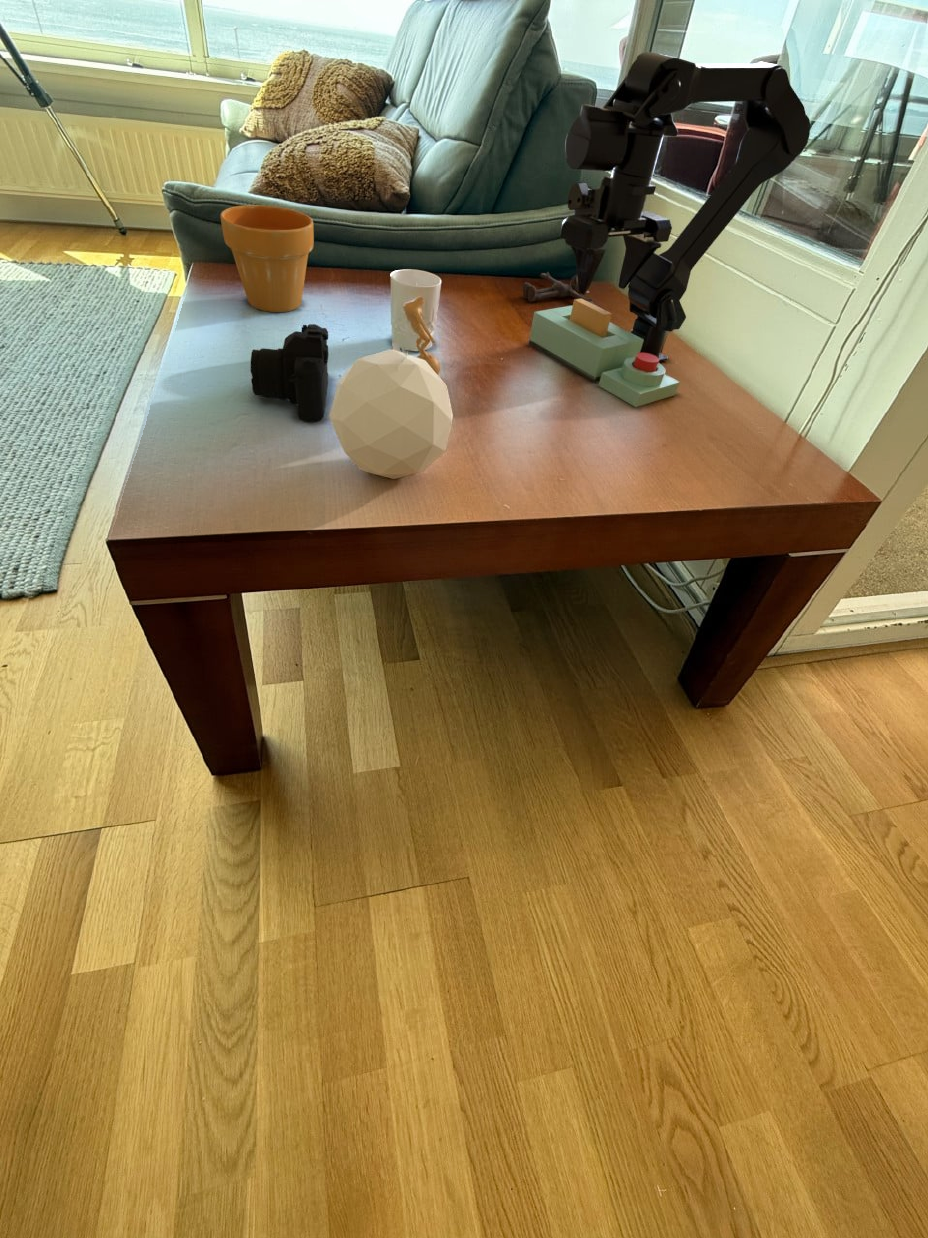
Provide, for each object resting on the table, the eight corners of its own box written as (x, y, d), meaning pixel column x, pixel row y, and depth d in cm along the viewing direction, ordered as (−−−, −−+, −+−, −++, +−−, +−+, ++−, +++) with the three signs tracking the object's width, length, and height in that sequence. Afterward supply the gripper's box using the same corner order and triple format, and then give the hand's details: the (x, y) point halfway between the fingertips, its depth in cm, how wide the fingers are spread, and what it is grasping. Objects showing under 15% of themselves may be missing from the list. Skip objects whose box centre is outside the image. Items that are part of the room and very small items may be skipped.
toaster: (568, 336, 115) (575, 304, 111) (633, 372, 107) (644, 339, 103) (528, 344, 110) (534, 311, 106) (593, 382, 102) (603, 348, 98)
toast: (570, 343, 110) (581, 297, 104) (599, 359, 106) (612, 313, 101) (563, 345, 109) (573, 299, 103) (592, 361, 105) (604, 314, 100)
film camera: (264, 369, 91) (257, 304, 85) (332, 375, 93) (331, 311, 86) (249, 421, 81) (239, 351, 74) (326, 426, 82) (323, 357, 76)
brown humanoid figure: (503, 268, 129) (561, 258, 134) (501, 290, 132) (558, 279, 137) (554, 300, 118) (614, 288, 123) (551, 323, 122) (610, 310, 127)
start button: (642, 361, 101) (646, 350, 100) (660, 371, 99) (663, 360, 98) (628, 365, 99) (631, 354, 98) (645, 375, 97) (649, 363, 96)
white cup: (429, 356, 101) (435, 290, 94) (382, 347, 102) (384, 280, 95) (440, 339, 107) (446, 275, 100) (395, 330, 107) (398, 265, 100)
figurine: (449, 391, 93) (458, 306, 85) (412, 395, 91) (418, 308, 82) (425, 367, 98) (431, 284, 90) (389, 370, 96) (392, 286, 87)
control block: (638, 374, 106) (645, 350, 103) (675, 395, 102) (684, 370, 99) (598, 385, 101) (605, 360, 98) (635, 407, 97) (643, 382, 94)
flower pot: (308, 323, 105) (304, 235, 96) (221, 312, 104) (208, 222, 95) (323, 294, 115) (320, 212, 106) (243, 284, 114) (234, 200, 105)
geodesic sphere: (322, 378, 78) (324, 309, 64) (434, 380, 82) (459, 314, 68) (332, 495, 77) (336, 450, 63) (446, 492, 80) (474, 448, 66)
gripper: (633, 159, 98) (605, 269, 108) (546, 158, 88) (525, 278, 99) (690, 177, 92) (654, 291, 103) (602, 178, 83) (574, 304, 94)
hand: (602, 290), depth 100 cm, fingers open, 9 cm apart
